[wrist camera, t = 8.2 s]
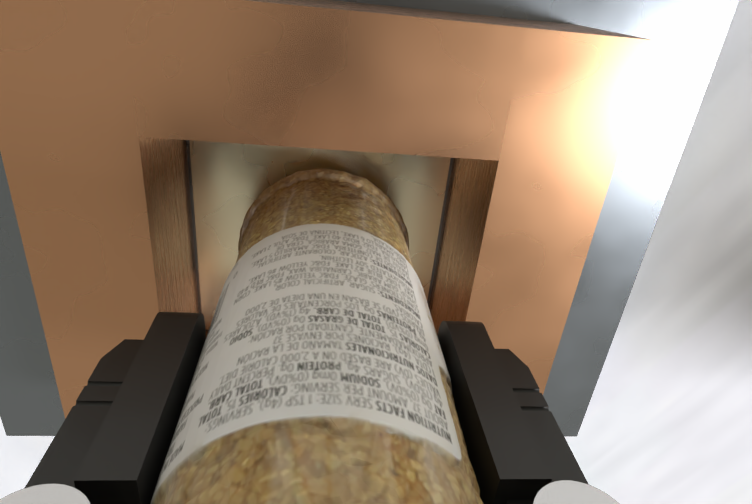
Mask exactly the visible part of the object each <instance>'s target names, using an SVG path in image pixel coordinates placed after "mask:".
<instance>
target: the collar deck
mask: <svg viewBox="0 0 752 504" xmlns="http://www.w3.org/2000/svg"><path fill="white" fill-rule="evenodd" d="M738 2H739V0H0V416H1V420H2V423H3V426H4V429H5V432H6V435H7V436H56V434H57V432H58V431H59V429H60V427H61V426H62V424H63V422H64V420H65V419H66V417H67V415H68V414H69V412H70V410H71V408H72V407H73V406H75V405H76V400H77V398H78V397H79V395H80V393H81V391H82V390H83V388H84V386H87V383H88V382H87V381H88V379H89V378H90V376H91V374H92V373H93V371H94V369H95V367H96V366H97V364H98V362H99V361H100V359H101V358H102V357H103V356H104V355H106V354H107V353H108V352H109V351H111V350H112V349H113V348H114V347H116V346H117V345H118V344H119V343H121V342H122V341H123V340H124V339H138V340H144V338H145V336H146V334H147V332H148V330H149V328H150V326H151V324H152V322H153V320H154V318H155V316H156V315H157V313H158V312H187V313H202V314H203V315H204V320H205V330H206V337H207V334H208V331H209V328H210V325H211V322H212V319H213V316H214V313H215V310H216V307H217V304H218V301H219V298H220V295H221V292H222V290H223V287H224V284H225V282H226V280H227V278H228V276H229V274H230V272H231V271H232V269H233V267H234V266H235V264H236V261H237V257H238V254H239V252H238V242H239V238H240V229H241V227H242V225H243V221H244V218H245V215H246V213H247V211H248V209H249V208H250V206H251V205H252V203H253V202H254V201H255V200H256V199H257V198H258V197H259V196H260V194H261V193H262V192H263V191H264V190H265V189H267V188H268V187H270V186H271V185H272V184H274V183H275V182H277V181H278V180H280V179H282V178H284V177H286V176H289V175H292V174H294V173H295V172H297V171H306V170H312V169H332V170H339V171H344V172H347V173H350V174H353V175H357V176H360V177H363V178H366V179H367V180H369V181H370V182H372V183H373V184H374V185H375V186H376V187H378V188H379V189H381V190H382V191H383V192H384V193H385V194H386V195H387V196H388V197H389V198H390V199H391V200H392V202H393V203H394V204H395V206H396V208H397V209H398V210H399V212H400V213H401V215H402V218H403V221H404V223H405V226H406V228H407V231H408V236H409V254H410V257H411V261H412V264H413V268H414V270H415V272H416V274H417V276H418V278H419V280H420V282H421V285H422V287H423V290H424V293H425V297H426V300H427V303H428V307H429V310H430V313H431V317H432V320H433V323H434V327H435V330H436V333H437V336H438V331H439V327H440V324H441V322H442V321H470V322H482V323H483V324H484V326H485V328H486V331H487V333H488V335H489V337H490V340H491V342H492V344H493V346H494V349H509V350H511V351H512V352H513V353H514V354H515V355H516V356H517V357H518V358H519V359H520V360H521V361H522V362H523V363H525V364H526V365H527V366H528V367H529V369H530V371H531V373H532V375H533V377H534V379H535V381H536V383H537V385H538V387H539V392H540V393H542V395H543V396H544V398H545V400H546V402H547V404H548V406H549V408H548V409H549V411H551V412H552V414H553V416H554V418H555V420H556V422H557V424H558V426H559V428H560V430H561V432H562V434H563V436H577V434H578V432H579V429H580V426H581V424H582V421H583V418H584V416H585V413H586V410H587V407H588V405H589V402H590V399H591V397H592V394H593V391H594V389H595V386H596V383H597V381H598V378H599V375H600V373H601V370H602V367H603V364H604V362H605V359H606V356H607V354H608V351H609V348H610V346H611V343H612V340H613V338H614V335H615V332H616V330H617V327H618V324H619V322H620V319H621V316H622V313H623V311H624V308H625V305H626V303H627V300H628V297H629V295H630V292H631V289H632V287H633V284H634V281H635V279H636V276H637V273H638V271H639V268H640V265H641V262H642V260H643V257H644V254H645V252H646V249H647V246H648V244H649V241H650V238H651V236H652V233H653V230H654V228H655V225H656V222H657V219H658V217H659V214H660V211H661V209H662V206H663V203H664V201H665V198H666V195H667V193H668V190H669V187H670V185H671V182H672V179H673V177H674V174H675V171H676V168H677V166H678V163H679V160H680V158H681V155H682V152H683V150H684V147H685V144H686V142H687V139H688V136H689V134H690V131H691V128H692V125H693V123H694V120H695V117H696V115H697V112H698V109H699V107H700V104H701V101H702V99H703V96H704V93H705V91H706V88H707V85H708V83H709V80H710V77H711V74H712V72H713V69H714V66H715V64H716V61H717V58H718V56H719V53H720V50H721V48H722V45H723V42H724V40H725V37H726V34H727V32H728V29H729V26H730V23H731V21H732V18H733V15H734V13H735V10H736V7H737V5H738Z"/></svg>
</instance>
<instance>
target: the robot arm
mask: <svg viewBox="0 0 752 504" xmlns="http://www.w3.org/2000/svg"><path fill="white" fill-rule="evenodd" d="M438 339H439V343H440V346H441V350H442V353H443V356H444V359H445V363H446V366H447V369H448V372H449V375H450V378H451V384H452V395H453V398H454V402H455V408H456V411H457V414H458V418H459V422H460V426H461V429H462V432H463V436H464V439H465V443H466V446H467V452H468V457H469V459H470V462H471V465H472V467H473V470H474V473H475V475H476V479H477V482H478V486H479V489H480V498H481V500H482V502H483V503H484V504H619V503H618V502H617V501H616V500H615V499H613V498H612V497H611V496H609V495H608V494H606V493H605V492H603V491H601V490H599V489H598V488H595V487H593V486H591V485H589V484H588V482H587V481H586V479H585V477H584V475H583V473H582V471H581V469H580V467H579V465H578V463H577V461H576V459H575V457H574V455H573V453H572V451H571V449H570V447H569V445H568V443H567V442H566V440H565V438H564V436H563V434H562V432H561V430H560V428H559V426H558V424H557V422H556V420H555V418H554V416H553V414H552V412H551V411H549V409H548V408H549V406H548V404H547V402H546V400H545V398H544V396H543V395H542V393H540V392H539V387H538V385H537V383H536V381H535V379H534V377H533V375H532V373H531V371H530V369H529V367H528V366H527V365H526V364H525V363H523V362H522V361H521V360H520V359H519V358H518V357H517V356H516V355H515V354H514V353H513V352H512V351H511V350H509V349H494V346H493V344H492V342H491V340H490V337H489V335H488V333H487V331H486V328H485V326H484V324H483V323H482V322H470V321H442V322H441V324H440V327H439V331H438ZM205 340H206V330H205V320H204V315H203V314H202V313H187V312H158V313H157V315H156V316H155V318H154V320H153V322H152V324H151V326H150V328H149V330H148V332H147V334H146V336H145V338H144V340H138V339H124V340H123V341H122V342H121V343H119V344H118V345H117V346H116V347H114V348H113V349H112V350H111V351H109V352H108V353H107V354H106V355H104V356H103V357H102V358H101V359H100V361H99V362H98V364H97V366H96V367H95V369H94V371H93V373H92V374H91V376H90V378H89V379H88V381H87V382H88V383H87V386H84V388H83V390H82V391H81V393H80V395H79V397H78V398H77V400H76V405H75V406H73V407H72V408H71V410H70V412H69V414H68V415H67V417H66V419H65V420H64V422H63V424H62V426H61V427H60V429H59V431H58V432H57V434H56V436H55V437H54V439H53V441H52V443H51V444H50V446H49V448H48V449H47V451H46V453H45V455H44V456H43V458H42V460H41V461H40V463H39V465H38V467H37V468H36V470H35V472H34V473H33V475H32V477H31V478H30V480H29V482H28V484H27V485H26V487H25V488H24V489H21V490H19V491H16V492H14V493H11V494H9V495H7V496H5V497H4V498H2V499H0V504H151V500H152V497H153V493H154V490H155V487H156V484H157V481H158V478H159V475H160V472H161V469H162V467H163V464H164V461H165V458H166V455H167V452H168V449H169V447H170V444H171V441H172V438H173V435H174V432H175V429H176V426H177V423H178V420H179V417H180V414H181V411H182V408H183V405H184V402H185V399H186V396H187V393H188V390H189V387H190V384H191V381H192V378H193V375H194V372H195V369H196V366H197V363H198V360H199V357H200V355H201V352H202V349H203V346H204V343H205Z"/></svg>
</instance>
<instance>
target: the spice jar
mask: <svg viewBox="0 0 752 504" xmlns="http://www.w3.org/2000/svg"><path fill="white" fill-rule="evenodd" d="M238 252H239V254H238V257H237V261H236V264H235V266H234V267H233V269H232V271H231V272H230V274H229V276H228V278H227V280H226V282H225V284H224V287H223V290H222V292H221V295H220V298H219V301H218V304H217V307H216V310H215V313H214V316H213V319H212V322H211V325H210V328H209V331H208V334H207V337H206V340H205V343H204V346H203V349H202V352H201V355H200V357H199V360H198V363H197V366H196V369H195V372H194V375H193V378H192V381H191V384H190V387H189V390H188V393H187V396H186V399H185V402H184V405H183V408H182V411H181V414H180V417H179V420H178V423H177V426H176V429H175V432H174V435H173V438H172V441H171V444H170V447H169V449H168V452H167V455H166V458H165V461H164V464H163V467H162V469H161V472H160V475H159V478H158V481H157V484H156V487H155V490H154V493H153V497H152V500H151V504H484V503H483V502H482V500H481V498H480V489H479V486H478V482H477V479H476V475H475V473H474V470H473V467H472V465H471V462H470V459H469V457H468V452H467V446H466V443H465V439H464V436H463V432H462V429H461V426H460V422H459V418H458V414H457V411H456V408H455V402H454V398H453V395H452V384H451V378H450V375H449V372H448V369H447V366H446V363H445V359H444V356H443V353H442V350H441V346H440V343H439V339H438V336H437V333H436V330H435V327H434V323H433V320H432V317H431V313H430V310H429V307H428V303H427V300H426V297H425V293H424V290H423V287H422V285H421V282H420V280H419V278H418V276H417V274H416V272H415V270H414V268H413V264H412V261H411V257H410V254H409V236H408V231H407V228H406V226H405V223H404V221H403V218H402V215H401V213H400V212H399V210H398V209H397V208H396V206H395V204H394V203H393V202H392V200H391V199H390V198H389V197H388V196H387V195H386V194H385V193H384V192H383V191H382V190H381V189H379V188H378V187H376V186H375V185H374V184H373V183H372V182H370V181H369V180H367V179H366V178H363V177H360V176H357V175H353V174H350V173H347V172H344V171H339V170H332V169H312V170H306V171H297V172H295V173H294V174H292V175H289V176H286V177H284V178H282V179H280V180H278V181H277V182H275V183H274V184H272V185H271V186H270V187H268V188H267V189H265V190H264V191H263V192H262V193H261V194H260V196H259V197H258V198H257V199H256V200H255V201H254V202H253V203H252V205H251V206H250V208H249V209H248V211H247V213H246V215H245V218H244V221H243V225H242V227H241V229H240V238H239V242H238Z"/></svg>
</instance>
